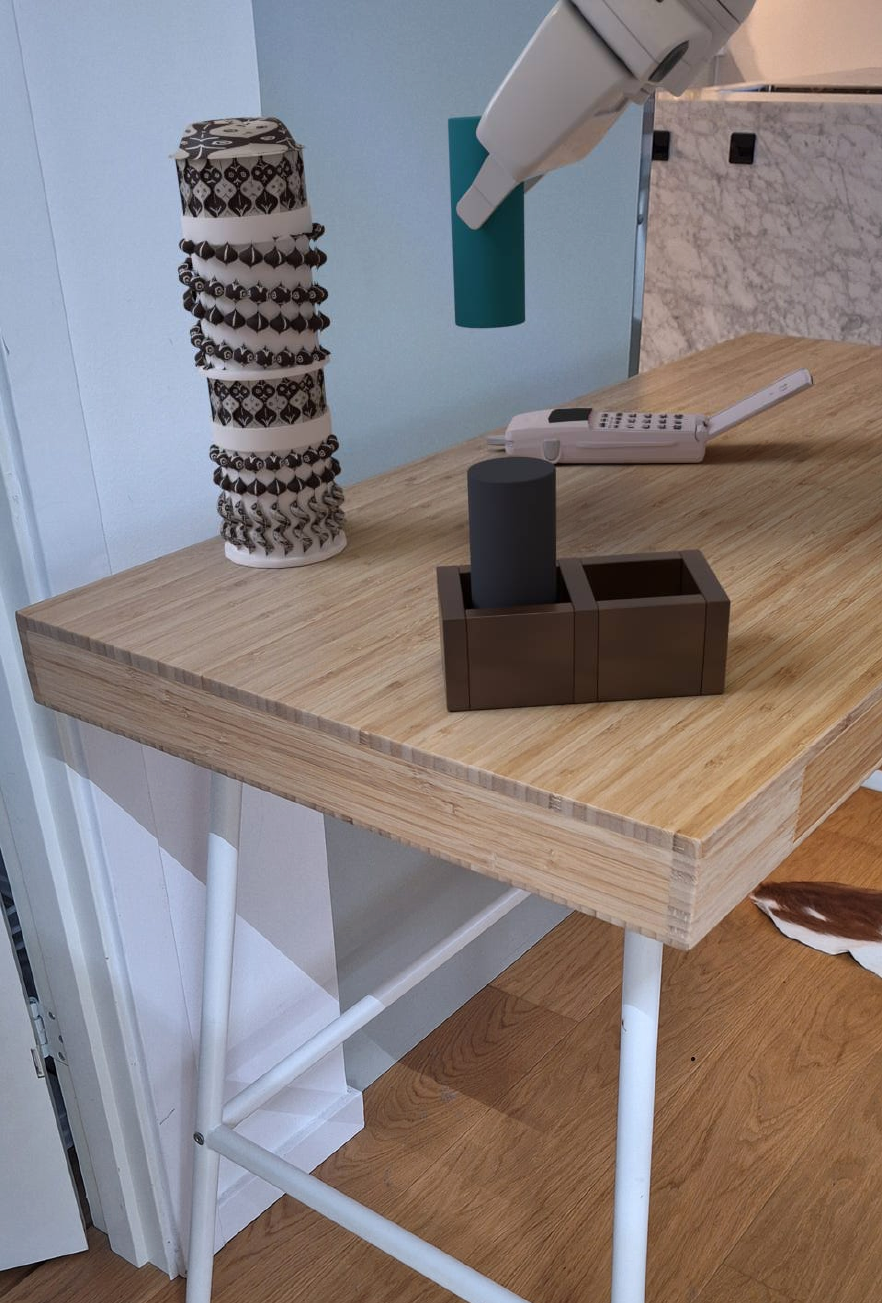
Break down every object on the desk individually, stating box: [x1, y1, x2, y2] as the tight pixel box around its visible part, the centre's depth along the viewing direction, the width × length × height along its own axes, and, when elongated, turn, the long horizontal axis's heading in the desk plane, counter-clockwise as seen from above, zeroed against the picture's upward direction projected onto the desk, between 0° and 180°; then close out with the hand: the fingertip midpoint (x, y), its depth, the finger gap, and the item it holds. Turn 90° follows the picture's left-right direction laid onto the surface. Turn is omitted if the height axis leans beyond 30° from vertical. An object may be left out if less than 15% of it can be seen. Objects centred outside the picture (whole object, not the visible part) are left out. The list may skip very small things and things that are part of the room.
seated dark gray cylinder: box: [466, 456, 557, 609], centre depth 70 cm, size 4×4×11 cm
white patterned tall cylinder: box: [168, 116, 348, 569], centre depth 85 cm, size 9×9×25 cm
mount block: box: [435, 549, 732, 712], centre depth 72 cm, size 14×8×5 cm, turn 92°
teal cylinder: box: [447, 115, 526, 329], centre depth 81 cm, size 4×4×11 cm
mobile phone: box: [486, 366, 815, 465], centre depth 104 cm, size 6×6×25 cm
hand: (478, 215), depth 81 cm, fingers closed on teal cylinder, 4 cm apart
